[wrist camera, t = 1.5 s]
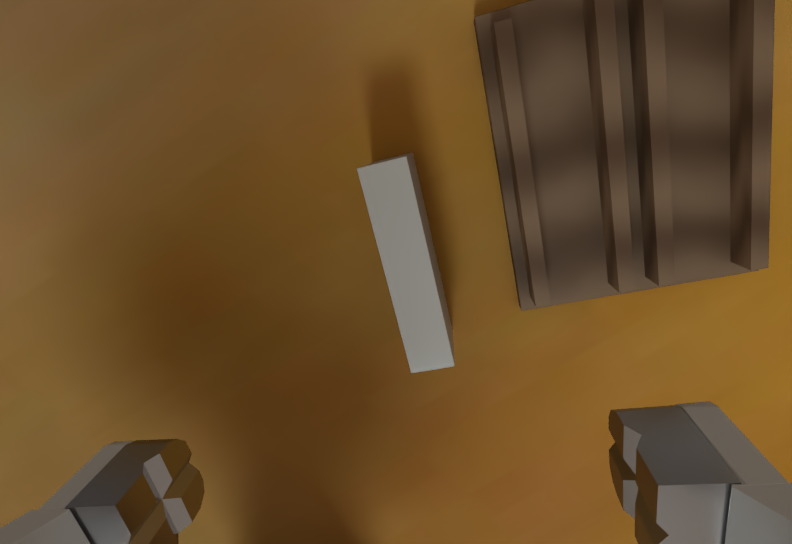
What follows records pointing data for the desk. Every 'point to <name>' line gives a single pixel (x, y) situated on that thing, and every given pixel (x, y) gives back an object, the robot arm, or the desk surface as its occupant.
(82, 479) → the robot arm
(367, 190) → the gray rectangular block
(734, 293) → the desk surface
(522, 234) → the rack
